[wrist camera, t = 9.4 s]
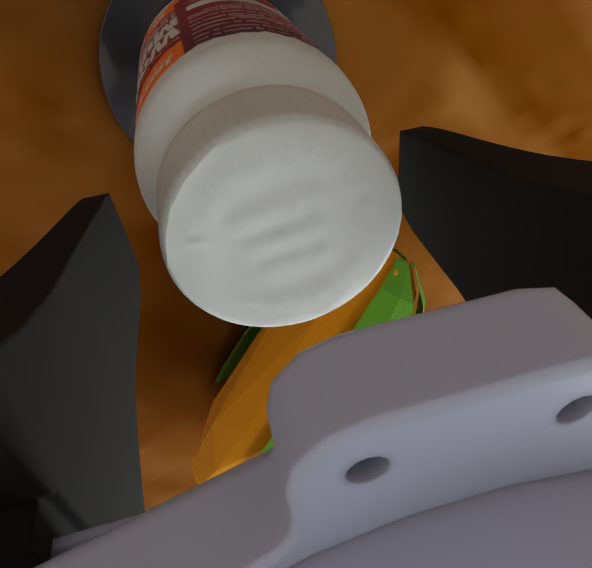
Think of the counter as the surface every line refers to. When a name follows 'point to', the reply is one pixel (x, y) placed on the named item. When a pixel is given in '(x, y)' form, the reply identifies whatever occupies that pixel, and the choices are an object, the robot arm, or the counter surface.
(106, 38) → the coaster
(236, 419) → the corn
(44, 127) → the counter surface
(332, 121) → the pill bottle
